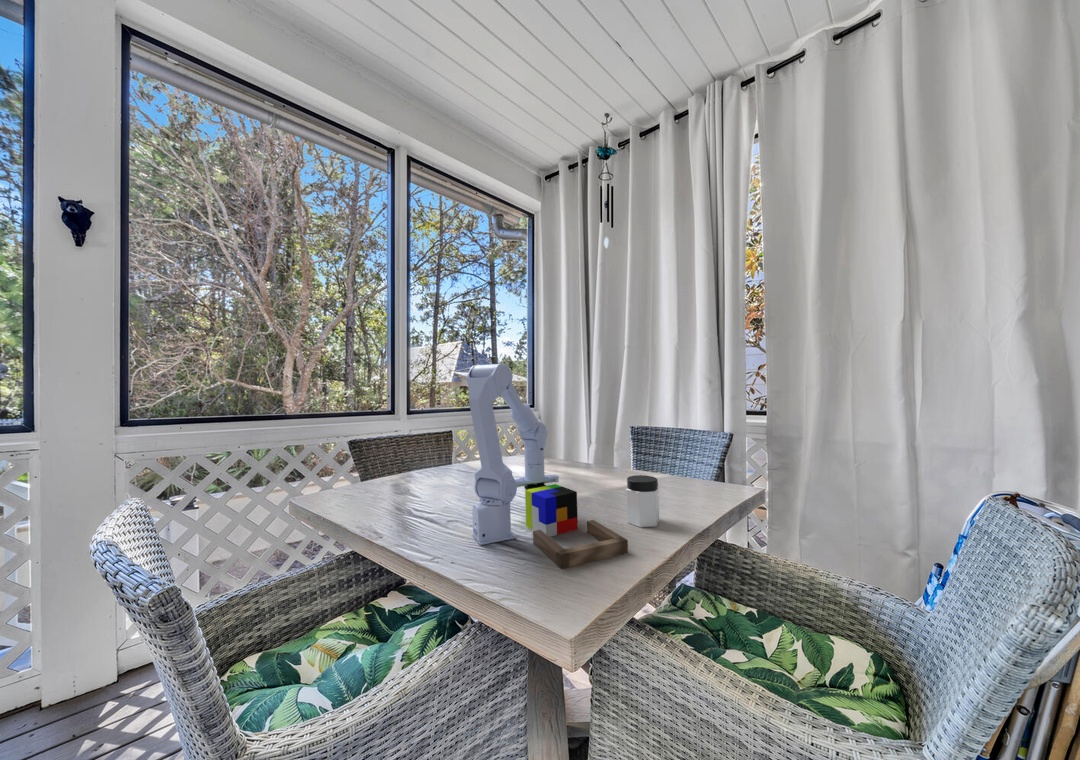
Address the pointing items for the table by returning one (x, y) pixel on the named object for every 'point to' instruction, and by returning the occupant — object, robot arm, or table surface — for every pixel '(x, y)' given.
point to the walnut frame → (583, 546)
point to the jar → (642, 501)
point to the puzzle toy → (551, 509)
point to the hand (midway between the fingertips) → (535, 509)
